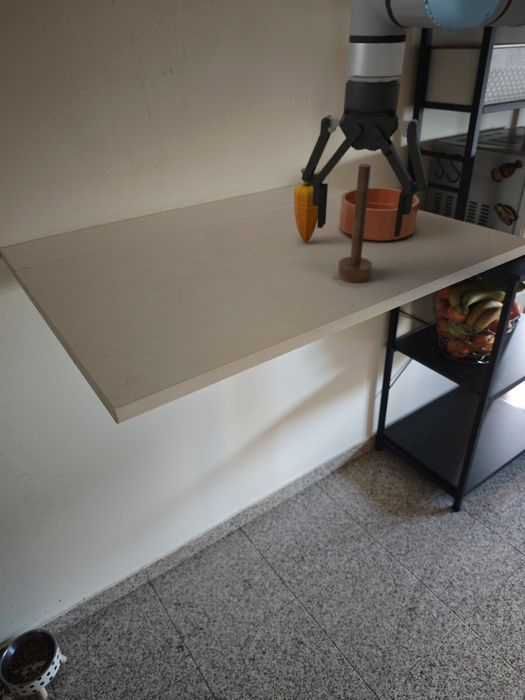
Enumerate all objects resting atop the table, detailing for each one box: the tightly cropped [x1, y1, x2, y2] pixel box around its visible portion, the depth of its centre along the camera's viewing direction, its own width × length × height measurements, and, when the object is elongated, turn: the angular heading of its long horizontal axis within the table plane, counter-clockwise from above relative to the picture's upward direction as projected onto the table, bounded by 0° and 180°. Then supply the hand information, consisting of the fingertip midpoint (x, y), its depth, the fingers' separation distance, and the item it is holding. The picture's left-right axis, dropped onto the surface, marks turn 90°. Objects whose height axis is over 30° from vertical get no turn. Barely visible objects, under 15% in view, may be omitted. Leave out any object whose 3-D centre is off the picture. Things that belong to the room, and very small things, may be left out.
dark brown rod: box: [337, 163, 373, 284], centre depth 81 cm, size 6×6×18 cm
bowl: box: [338, 186, 420, 242], centre depth 103 cm, size 15×15×6 cm
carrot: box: [293, 165, 321, 244], centre depth 94 cm, size 5×5×15 cm
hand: (358, 229), depth 81 cm, fingers open, 12 cm apart
